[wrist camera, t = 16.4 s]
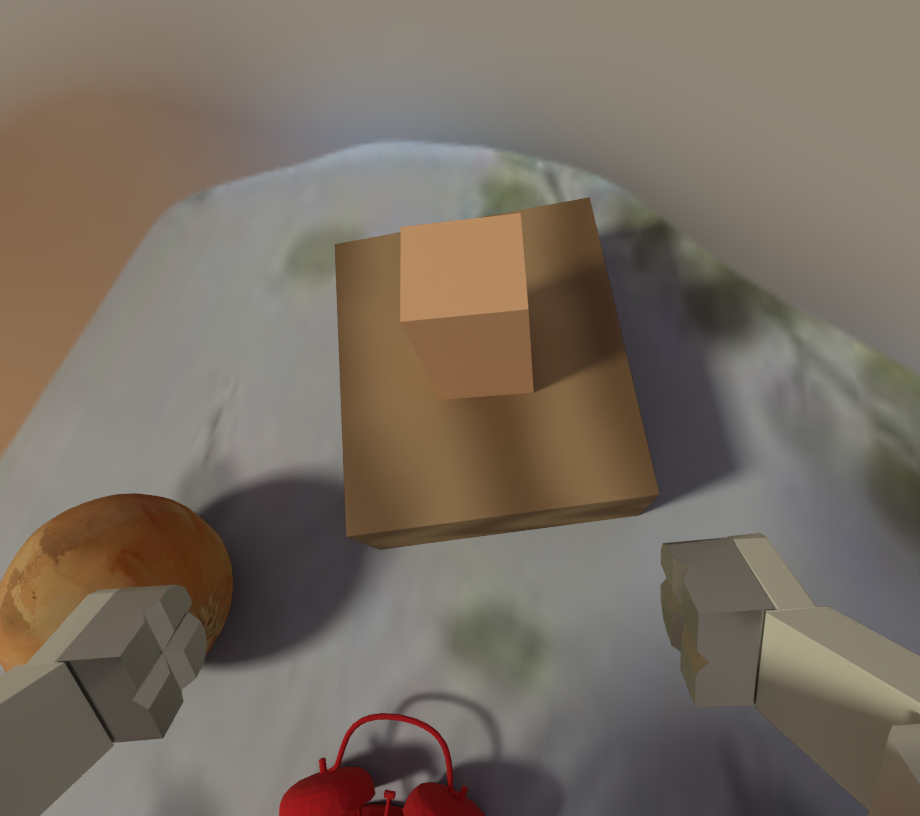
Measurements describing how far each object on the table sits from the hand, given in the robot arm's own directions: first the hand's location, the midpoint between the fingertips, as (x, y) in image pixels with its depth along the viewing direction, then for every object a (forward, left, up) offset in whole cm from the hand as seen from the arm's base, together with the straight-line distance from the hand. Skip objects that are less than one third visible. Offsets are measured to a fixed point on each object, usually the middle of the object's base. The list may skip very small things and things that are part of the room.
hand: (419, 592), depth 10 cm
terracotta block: (+1, +11, -15) cm, 19 cm away
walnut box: (0, +12, -21) cm, 24 cm away
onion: (-18, +2, -21) cm, 28 cm away
